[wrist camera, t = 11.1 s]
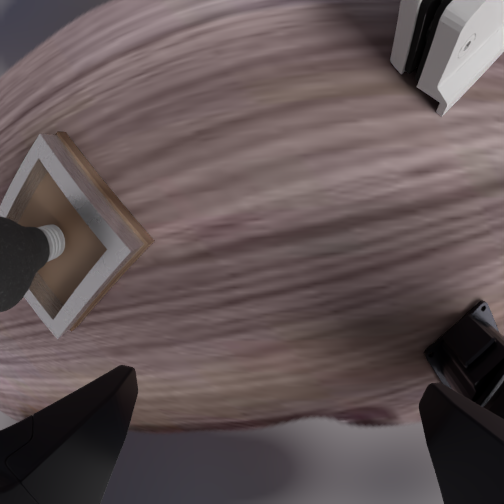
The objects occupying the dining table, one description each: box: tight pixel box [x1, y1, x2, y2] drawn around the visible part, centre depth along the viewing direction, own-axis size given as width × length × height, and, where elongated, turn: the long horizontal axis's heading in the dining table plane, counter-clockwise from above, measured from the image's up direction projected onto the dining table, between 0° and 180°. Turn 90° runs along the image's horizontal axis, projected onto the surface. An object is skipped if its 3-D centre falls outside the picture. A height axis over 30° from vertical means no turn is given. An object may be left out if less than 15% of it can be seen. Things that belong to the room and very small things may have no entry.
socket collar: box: [0, 134, 144, 339], centre depth 19 cm, size 11×11×2 cm
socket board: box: [18, 131, 154, 332], centre depth 20 cm, size 11×11×1 cm
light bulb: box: [0, 216, 65, 312], centre depth 15 cm, size 6×6×10 cm
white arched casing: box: [390, 0, 504, 117], centre depth 10 cm, size 17×5×10 cm, turn 135°
